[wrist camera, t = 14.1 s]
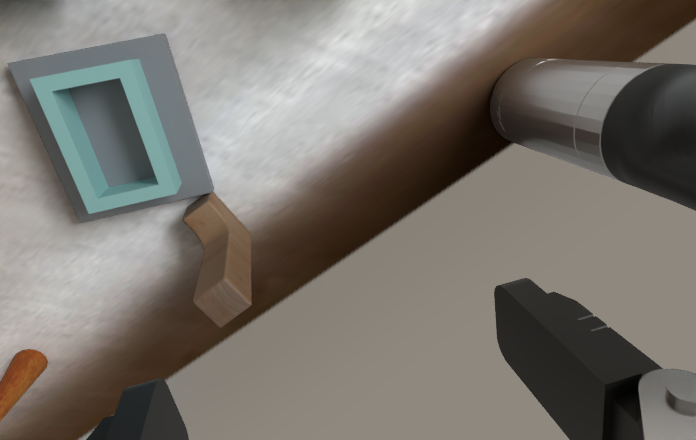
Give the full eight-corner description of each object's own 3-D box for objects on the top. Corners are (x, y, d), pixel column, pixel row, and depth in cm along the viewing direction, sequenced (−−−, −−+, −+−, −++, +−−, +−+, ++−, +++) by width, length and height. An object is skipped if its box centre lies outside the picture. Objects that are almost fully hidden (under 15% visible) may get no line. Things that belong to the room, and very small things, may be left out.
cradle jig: (165, 34, 41) (154, 32, 36) (213, 187, 47) (209, 203, 42) (15, 62, 40) (-16, 64, 35) (85, 217, 45) (66, 237, 41)
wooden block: (252, 233, 49) (252, 305, 36) (228, 251, 50) (220, 329, 36) (211, 188, 47) (195, 248, 33) (186, 207, 47) (160, 274, 33)
